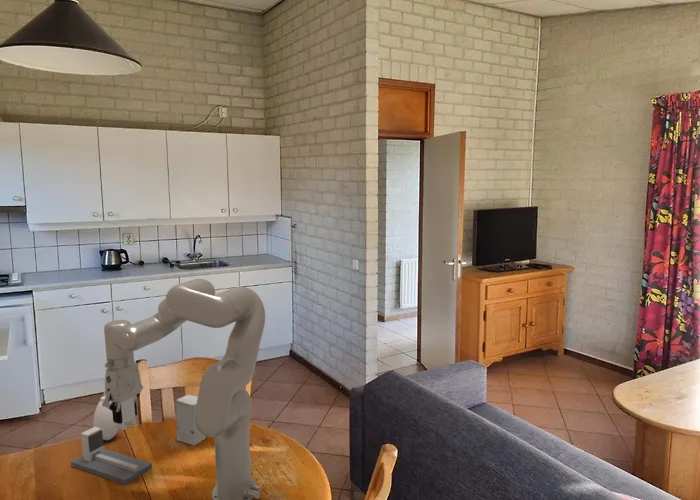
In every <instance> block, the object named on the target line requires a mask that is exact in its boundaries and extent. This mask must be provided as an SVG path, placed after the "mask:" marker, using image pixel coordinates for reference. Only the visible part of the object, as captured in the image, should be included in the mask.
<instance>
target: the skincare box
mask: <svg viewBox="0 0 700 500" xmlns="http://www.w3.org/2000/svg"><path fill="white" fill-rule="evenodd" d="M197 399H198V395H196V396H195V395H191V394H186V395H184V396H181V397H180V398H179V397H178V398H177V399H176V440H177V441H178V442H182V443H186V444H188V445H191V446H196V445H197V444H199V443H201V442H203V441H204V440H206V439H205V438H206V436H204V435H203V434H202V433H201V432H200V431H199V430H198V428H197V426H196V423H195V409H196V404H197ZM202 440H203V441H202Z"/></svg>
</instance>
